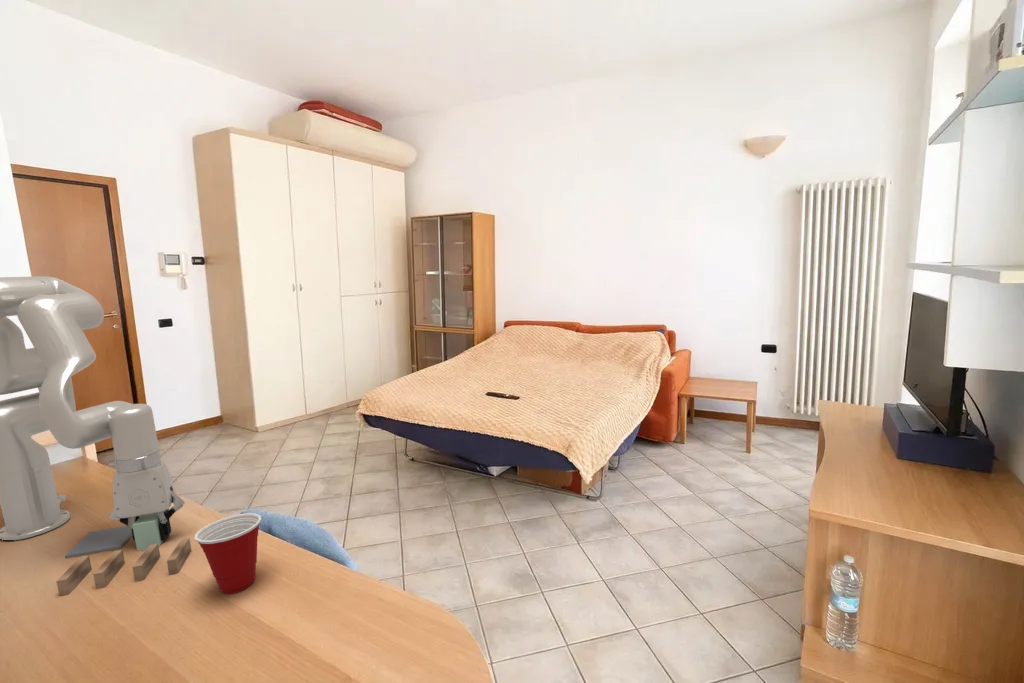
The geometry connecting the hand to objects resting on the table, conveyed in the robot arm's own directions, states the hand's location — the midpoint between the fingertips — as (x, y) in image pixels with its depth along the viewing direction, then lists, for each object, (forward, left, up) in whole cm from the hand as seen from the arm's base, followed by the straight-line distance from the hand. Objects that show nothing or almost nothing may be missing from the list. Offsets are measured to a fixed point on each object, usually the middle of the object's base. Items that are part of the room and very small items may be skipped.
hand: (153, 539), depth 109 cm
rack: (+11, 0, -1) cm, 11 cm away
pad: (-5, -11, -1) cm, 12 cm away
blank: (-1, 0, -1) cm, 1 cm away
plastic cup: (+23, +22, -1) cm, 32 cm away
